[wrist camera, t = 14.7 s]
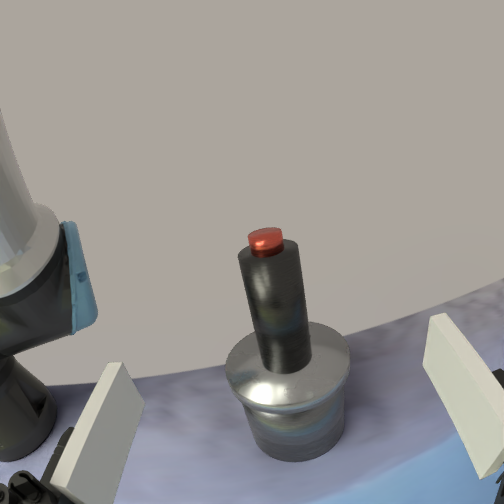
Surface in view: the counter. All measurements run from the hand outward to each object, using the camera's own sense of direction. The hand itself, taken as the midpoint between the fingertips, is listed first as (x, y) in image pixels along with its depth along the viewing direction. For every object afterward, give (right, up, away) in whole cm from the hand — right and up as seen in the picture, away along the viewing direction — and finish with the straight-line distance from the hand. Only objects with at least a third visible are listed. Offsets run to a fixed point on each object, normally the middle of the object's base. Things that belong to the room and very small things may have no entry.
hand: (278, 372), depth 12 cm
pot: (+4, -12, +16) cm, 20 cm away
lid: (+2, -5, +13) cm, 14 cm away
